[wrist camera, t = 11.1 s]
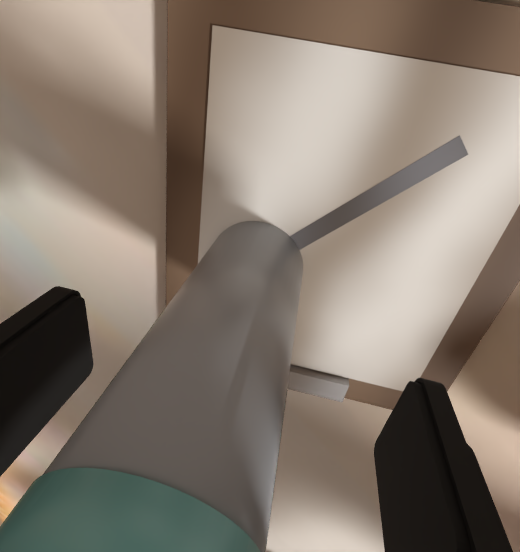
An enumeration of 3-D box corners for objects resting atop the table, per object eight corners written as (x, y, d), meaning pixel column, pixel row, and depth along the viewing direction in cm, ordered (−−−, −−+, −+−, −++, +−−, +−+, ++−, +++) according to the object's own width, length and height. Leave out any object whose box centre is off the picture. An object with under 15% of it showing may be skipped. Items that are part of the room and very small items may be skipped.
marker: (314, 231, 13) (263, 801, 3) (293, 314, 15) (219, 812, 5) (213, 210, 13) (-193, 645, 3) (206, 294, 15) (-43, 720, 5)
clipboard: (662, 35, 9) (701, 29, 8) (426, 409, 17) (431, 427, 16) (175, -40, 10) (160, -53, 9) (170, 346, 18) (161, 360, 17)
